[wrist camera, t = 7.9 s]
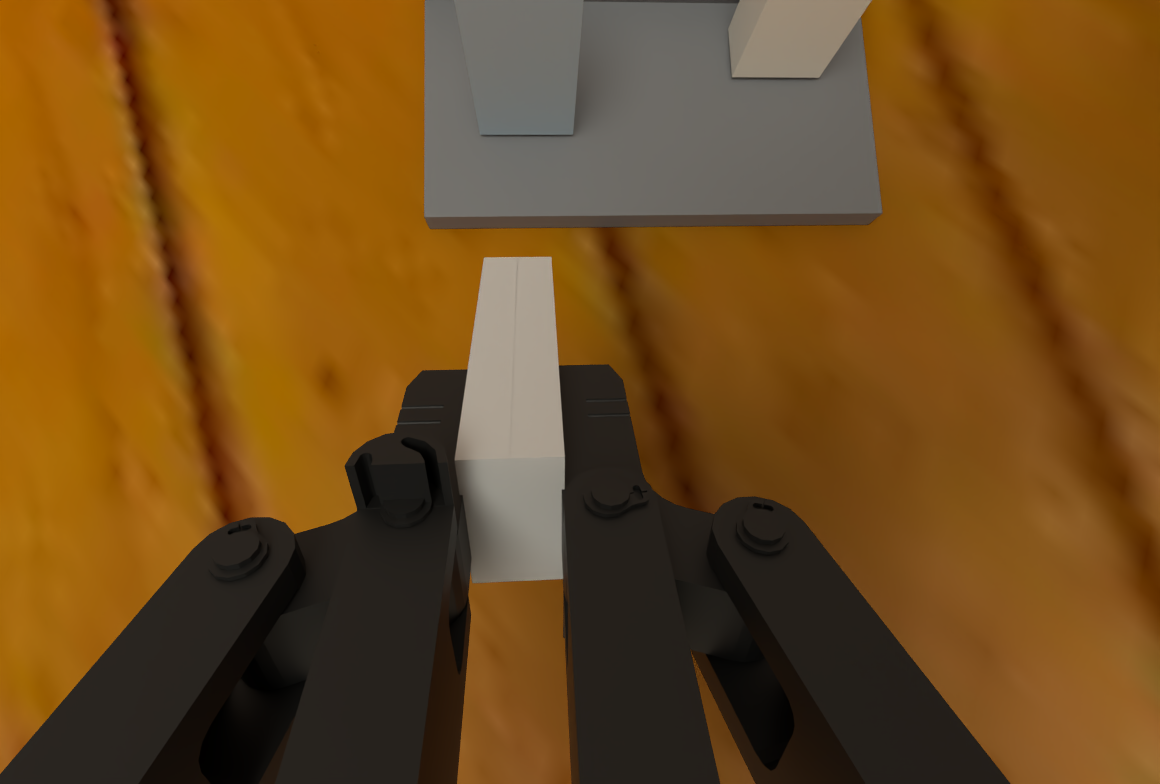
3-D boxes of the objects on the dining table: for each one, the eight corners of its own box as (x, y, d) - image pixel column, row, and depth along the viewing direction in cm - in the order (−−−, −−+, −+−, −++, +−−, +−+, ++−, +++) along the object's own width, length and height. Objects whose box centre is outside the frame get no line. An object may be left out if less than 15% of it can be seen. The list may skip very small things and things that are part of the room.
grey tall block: (571, 83, 33) (583, -110, 22) (573, 134, 33) (586, -38, 22) (479, 83, 33) (446, -114, 22) (480, 134, 32) (446, -40, 21)
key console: (841, -23, 37) (887, -100, 32) (868, 224, 35) (921, 182, 30) (430, -30, 36) (411, -112, 31) (429, 228, 33) (409, 185, 28)
